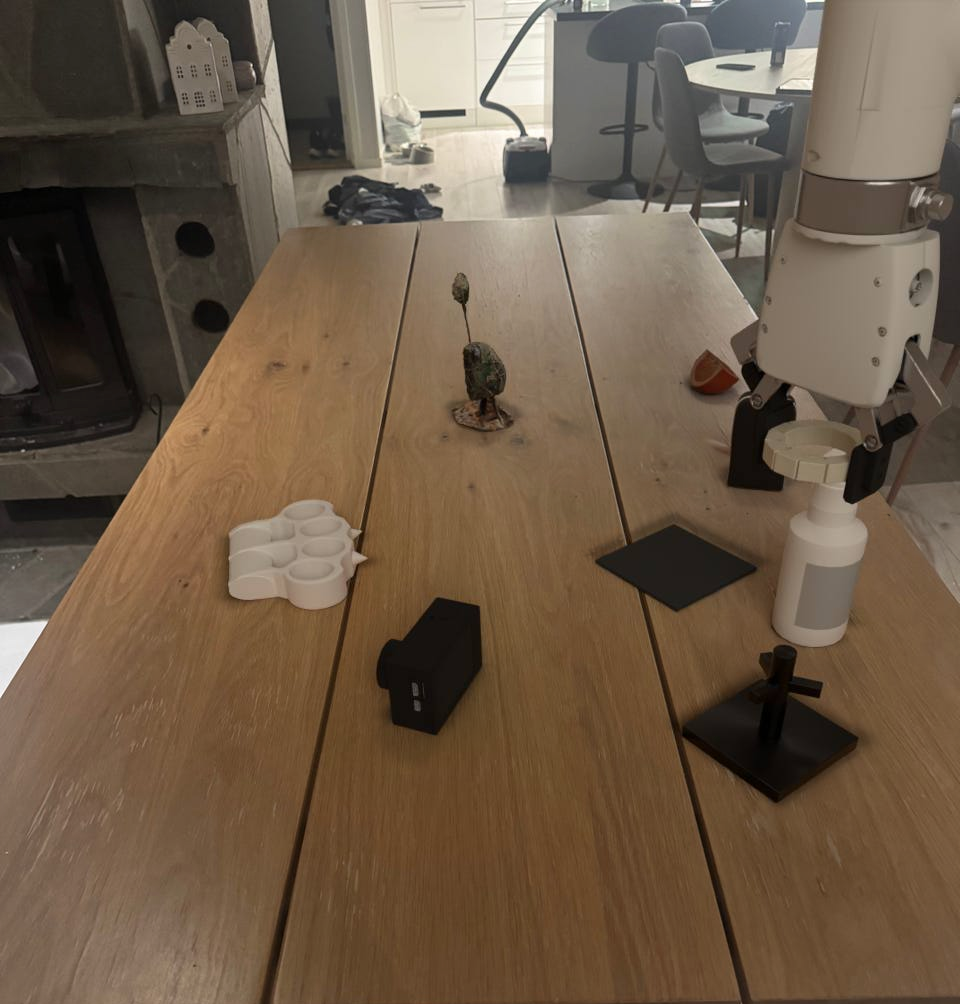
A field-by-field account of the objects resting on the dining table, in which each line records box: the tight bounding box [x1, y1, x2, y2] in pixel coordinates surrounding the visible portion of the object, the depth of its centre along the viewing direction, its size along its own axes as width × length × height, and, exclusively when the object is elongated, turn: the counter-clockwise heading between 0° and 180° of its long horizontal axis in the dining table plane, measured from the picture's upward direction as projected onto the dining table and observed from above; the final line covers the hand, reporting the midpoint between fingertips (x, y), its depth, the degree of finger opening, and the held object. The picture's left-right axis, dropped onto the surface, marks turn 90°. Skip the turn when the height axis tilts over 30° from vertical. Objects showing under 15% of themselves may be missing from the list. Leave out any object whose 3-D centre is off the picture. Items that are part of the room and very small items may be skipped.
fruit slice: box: [689, 348, 740, 395], centre depth 138 cm, size 8×7×5 cm
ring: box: [762, 418, 862, 484], centre depth 65 cm, size 7×7×1 cm
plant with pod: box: [451, 272, 515, 432], centre depth 127 cm, size 8×11×20 cm
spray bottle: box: [771, 448, 869, 648], centre depth 87 cm, size 7×7×18 cm
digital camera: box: [375, 596, 483, 736], centre depth 84 cm, size 10×5×7 cm, turn 157°
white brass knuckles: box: [227, 498, 369, 611], centre depth 104 cm, size 3×18×15 cm
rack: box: [681, 644, 860, 804], centre depth 77 cm, size 10×10×10 cm
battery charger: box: [726, 390, 798, 492], centre depth 113 cm, size 7×4×11 cm, turn 75°
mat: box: [594, 523, 758, 612], centre depth 102 cm, size 12×12×1 cm
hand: (813, 475), depth 67 cm, fingers closed on ring, 7 cm apart
